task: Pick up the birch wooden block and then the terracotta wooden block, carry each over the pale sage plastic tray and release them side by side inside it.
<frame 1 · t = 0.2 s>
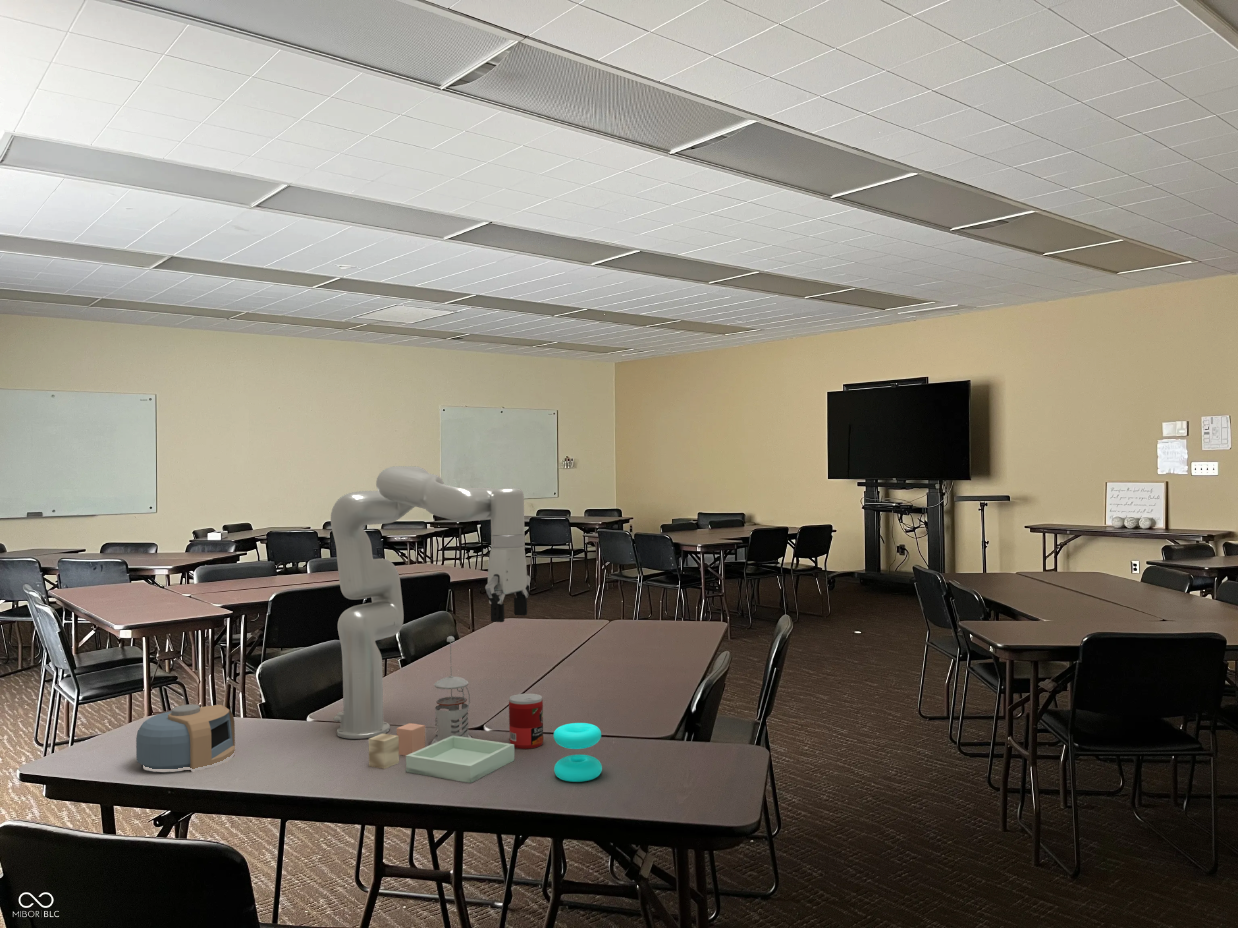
hand: (509, 618, 199), 31 cm above the table, tool pointing down, fingers open, 9 cm apart
tray: (461, 765, 192), on the table
alarm clock: (186, 761, 200), on the table
donuts: (578, 776, 184), on the table
french press: (454, 740, 212), on the table
canned food: (526, 745, 207), on the table
birch block: (384, 764, 194), on the table
terracotta block: (411, 752, 202), on the table
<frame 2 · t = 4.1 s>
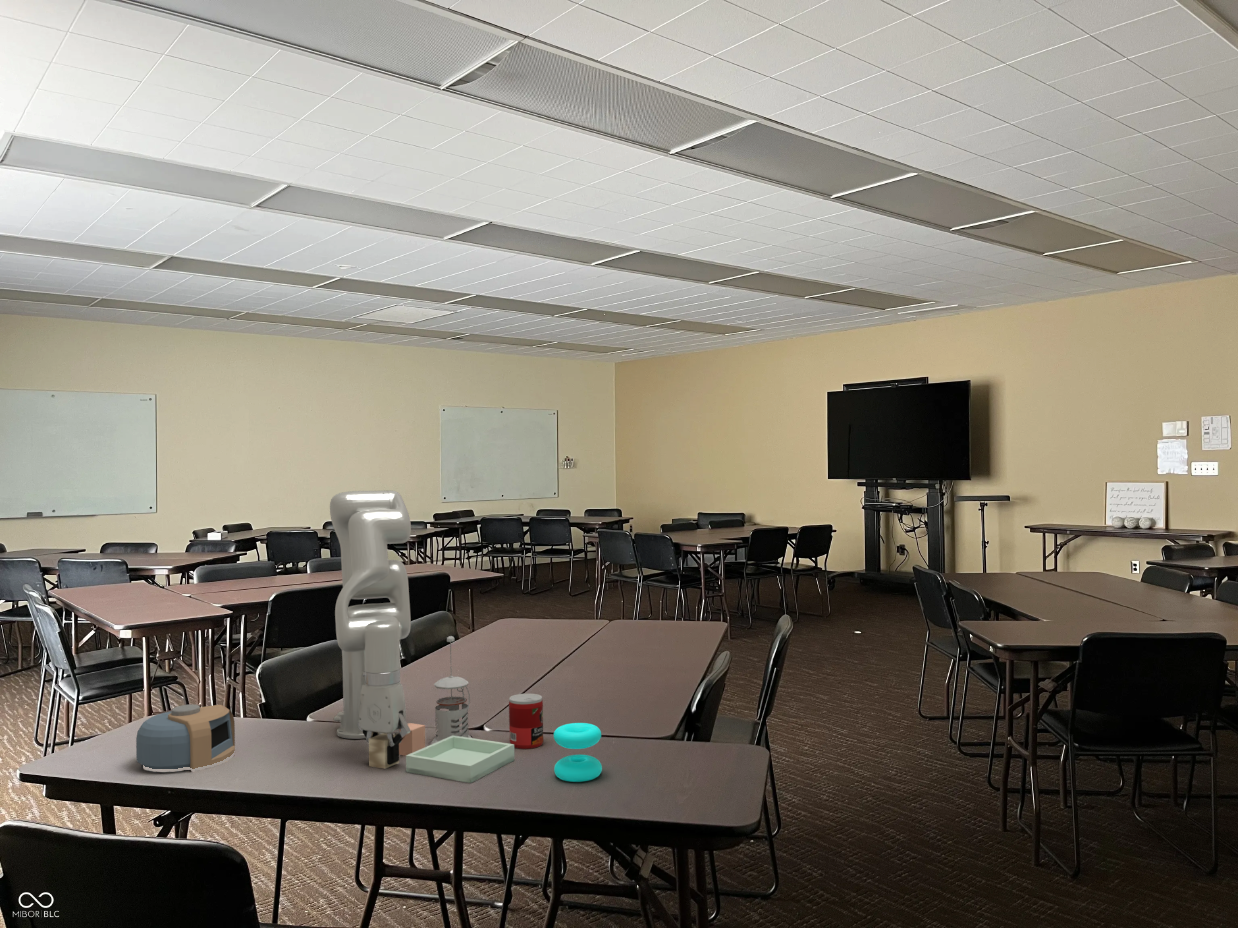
hand: (384, 760, 194), 1 cm above the table, tool pointing down, fingers closed on birch block, 4 cm apart
birch block: (384, 764, 194), on the table, touching gripper
everything else where it was.
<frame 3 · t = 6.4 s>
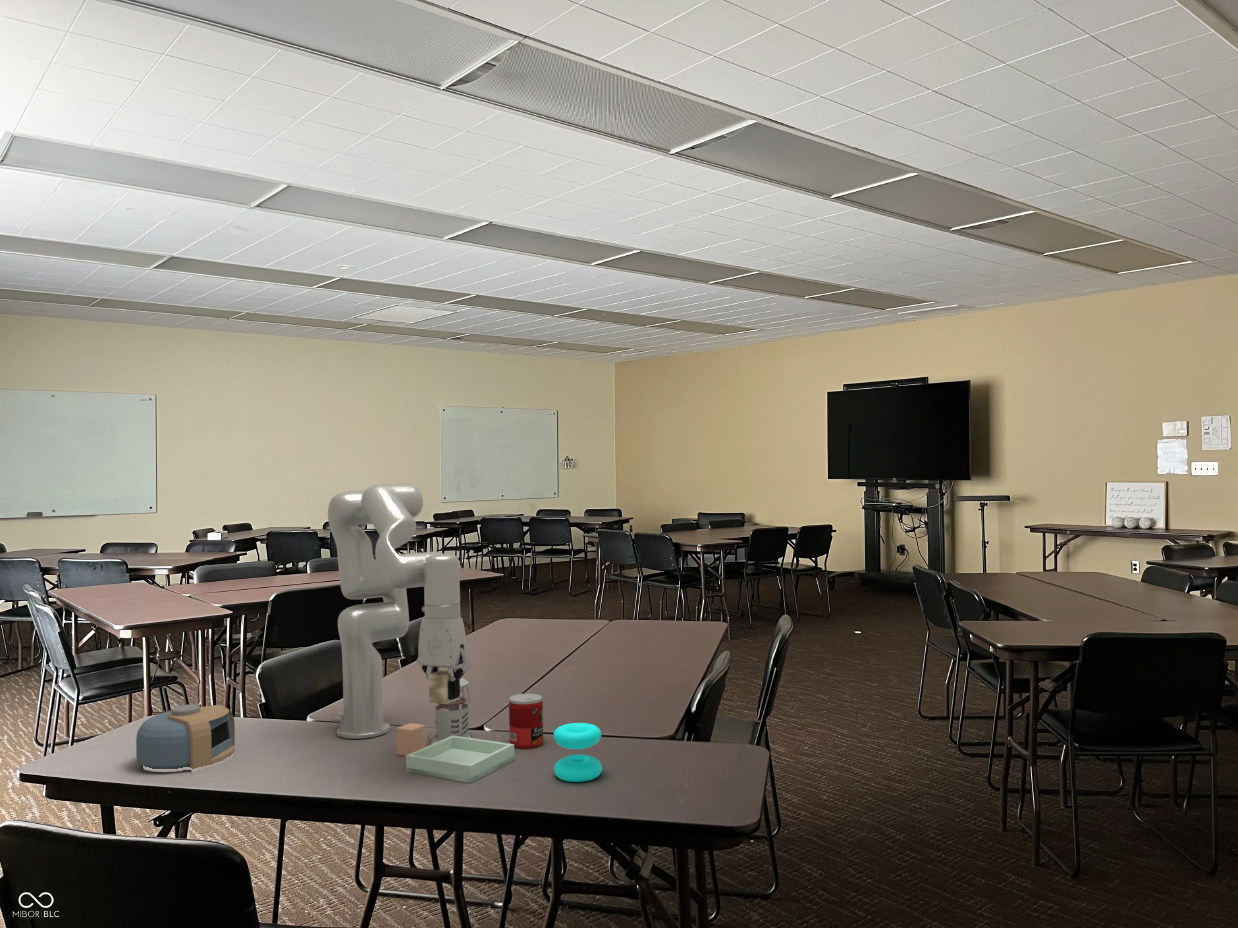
hand: (444, 696, 189), 16 cm above the table, tool pointing down, fingers closed on birch block, 4 cm apart
birch block: (444, 700, 189), point 15 cm above the table, touching gripper
everything else where it was.
when the fingers open (4 cm above the table, at t = 9.1 s): birch block drops 2 cm, resting on tray.
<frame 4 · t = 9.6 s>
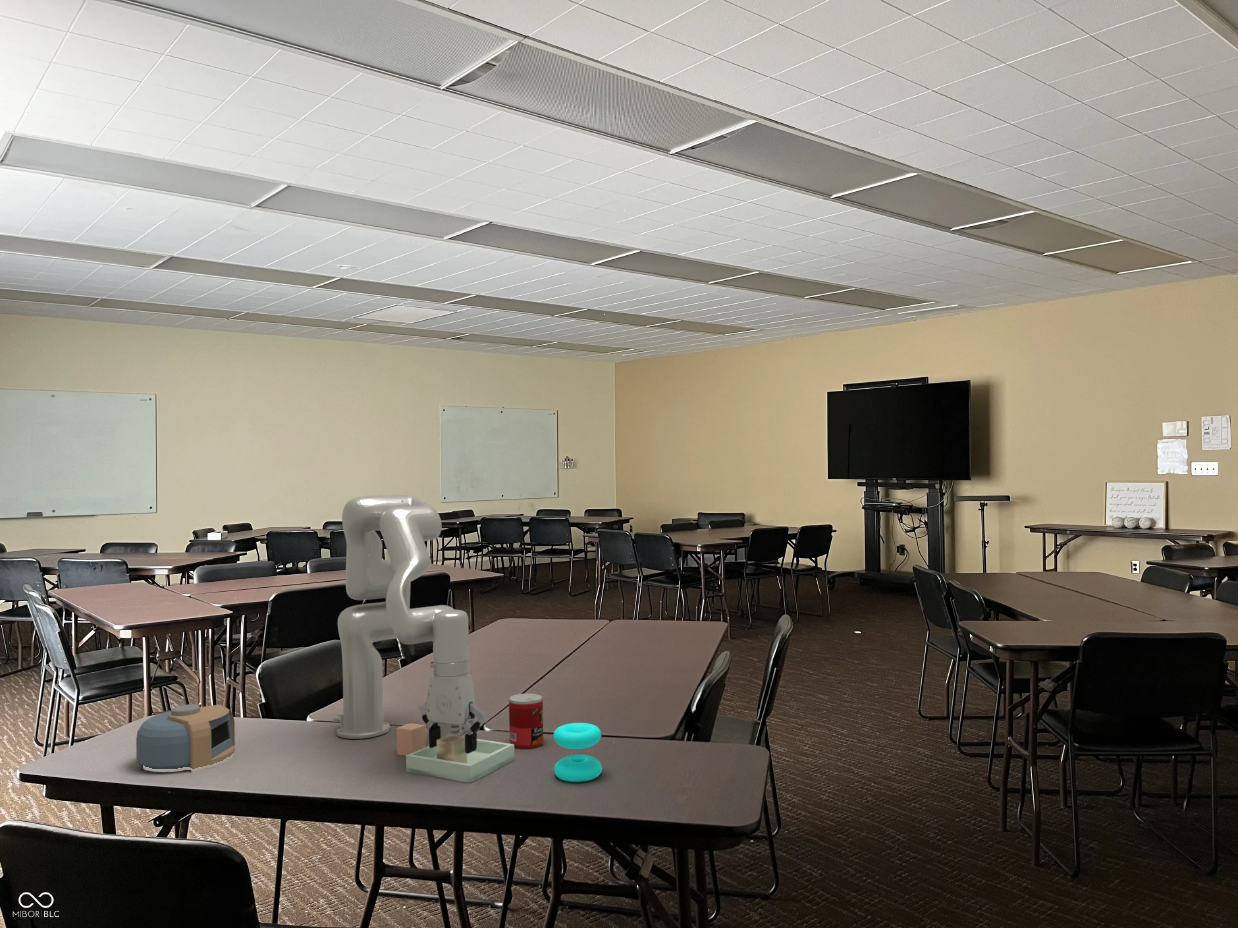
hand: (452, 748, 189), 5 cm above the table, tool pointing down, fingers open, 9 cm apart
birch block: (452, 766, 189), point 1 cm above the table, touching tray
everything else where it was.
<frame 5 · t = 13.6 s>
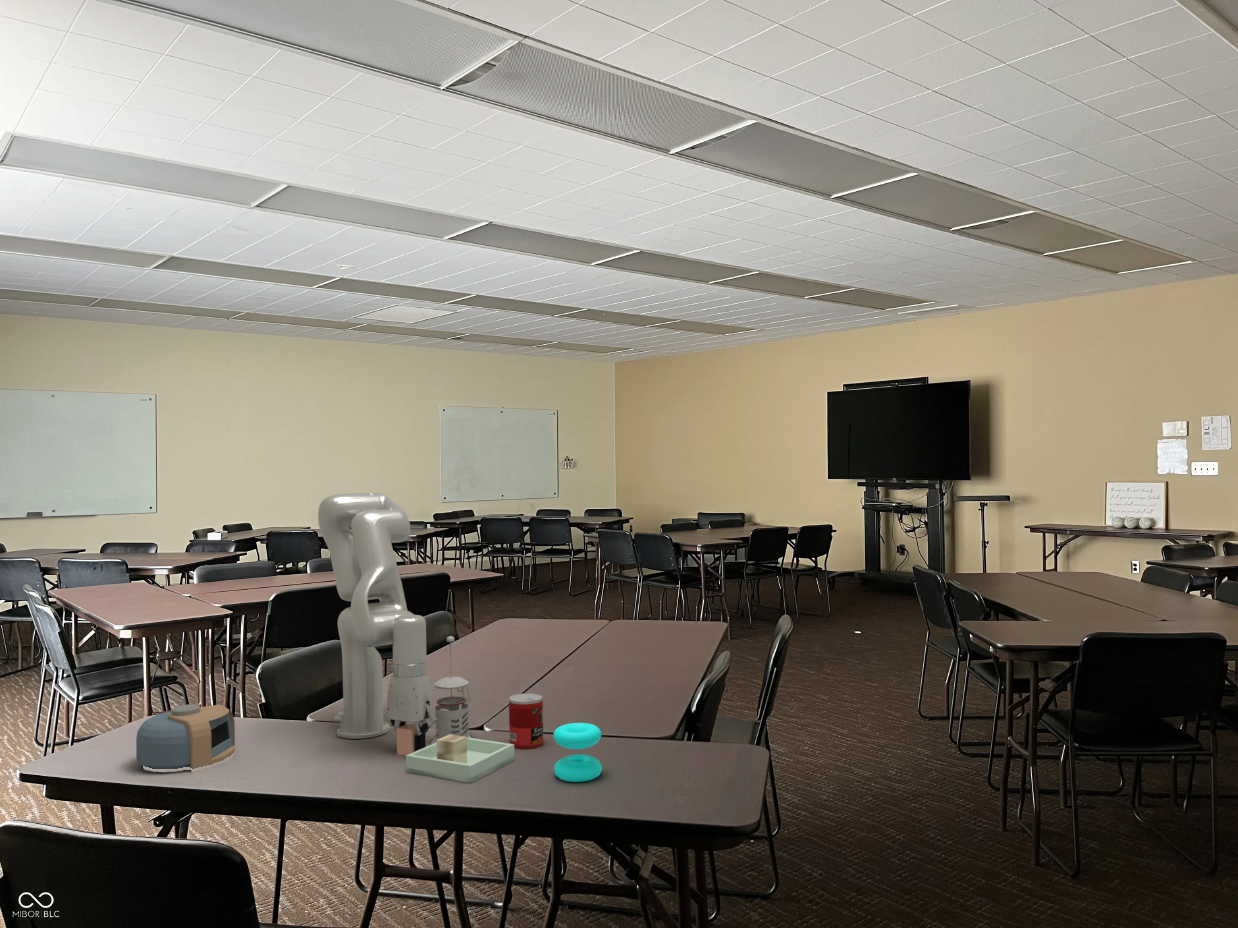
hand: (411, 748, 202), 1 cm above the table, tool pointing down, fingers closed on terracotta block, 4 cm apart
terracotta block: (411, 752, 202), on the table, touching gripper
everything else where it was.
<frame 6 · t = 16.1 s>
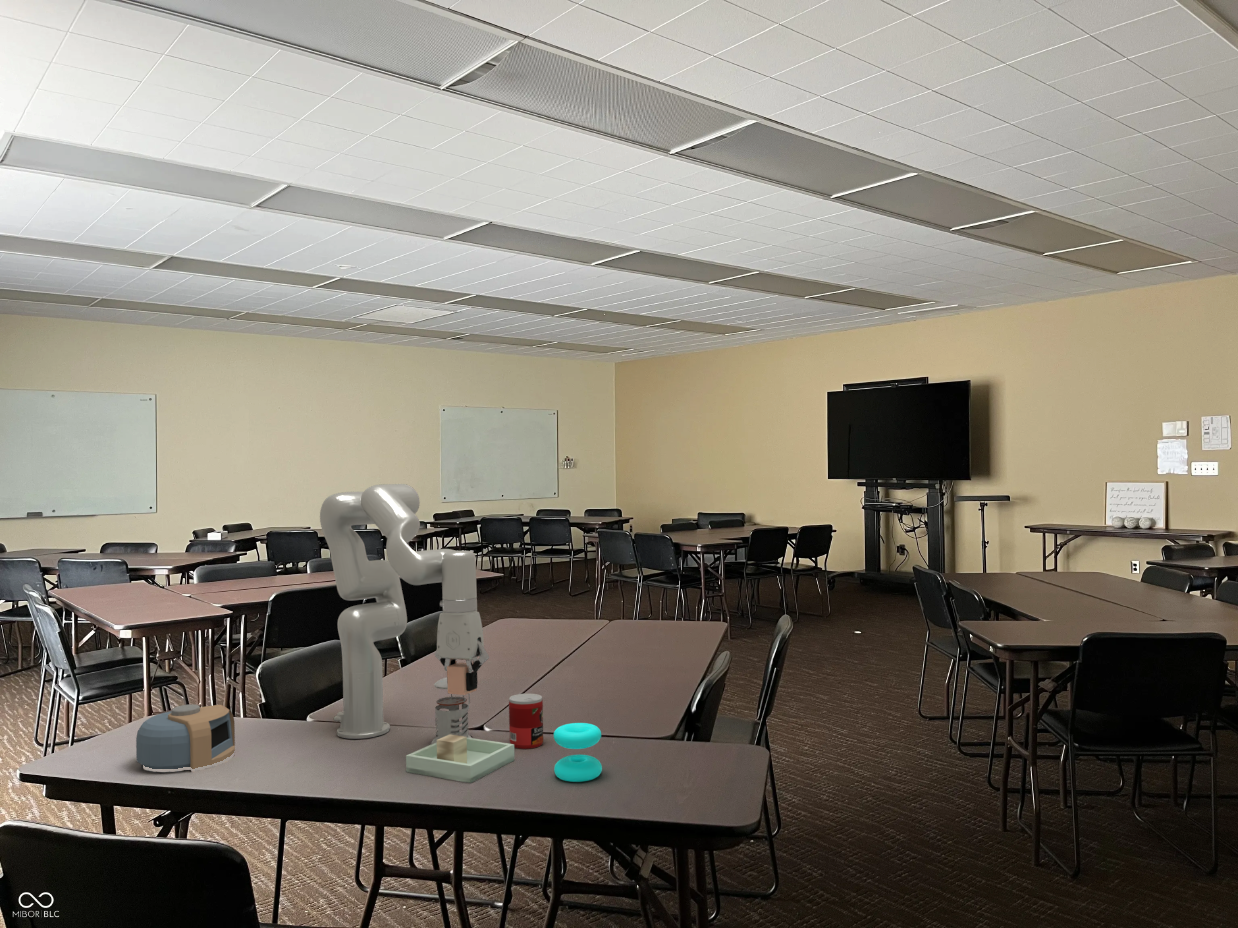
hand: (462, 687, 196), 16 cm above the table, tool pointing down, fingers closed on terracotta block, 4 cm apart
terracotta block: (462, 691, 196), point 15 cm above the table, touching gripper
everything else where it was.
when the fingers open (4 cm above the table, at t = 18.9 s): terracotta block drops 2 cm, resting on tray.
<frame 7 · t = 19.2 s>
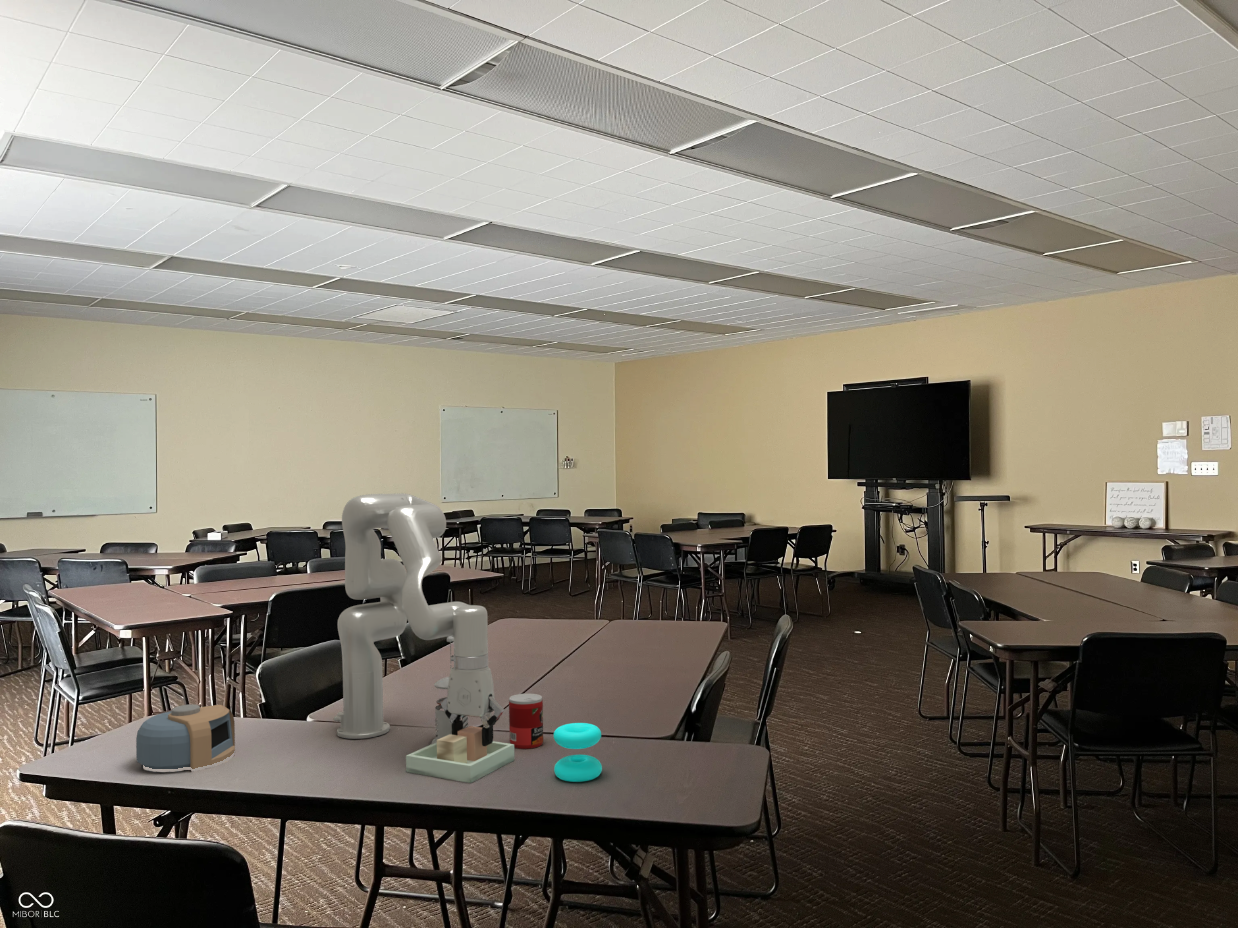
hand: (472, 741, 195), 4 cm above the table, tool pointing down, fingers open, 7 cm apart
terracotta block: (472, 756, 195), point 1 cm above the table, touching tray
everything else where it was.
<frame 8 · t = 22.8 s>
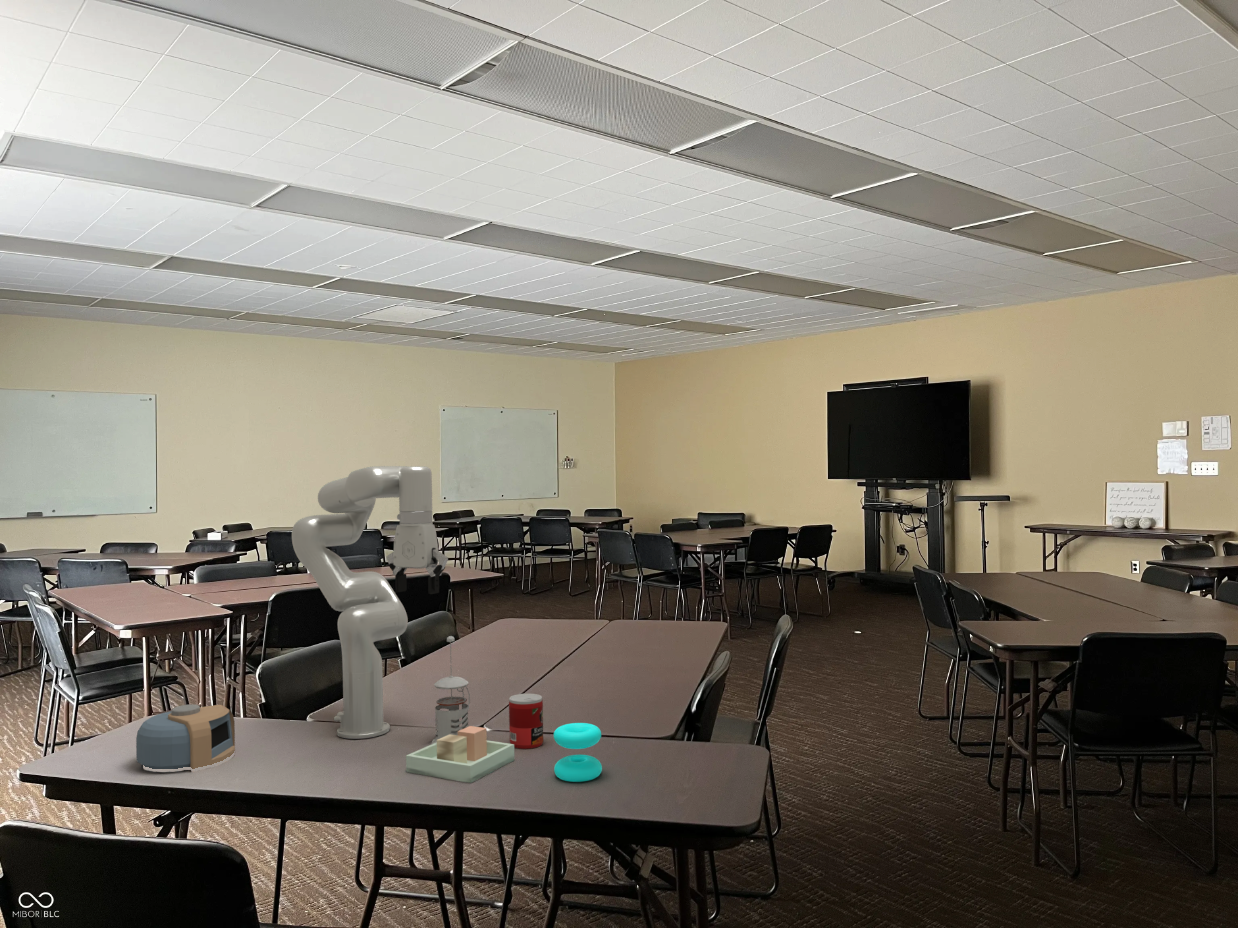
hand: (417, 592, 206), 36 cm above the table, tool pointing down, fingers open, 9 cm apart
nothing on the table moved.
at the end: birch block inside the target area on the tray (3.6 cm from its centre), point 1.0 cm above the tray's base; terracotta block inside the target area on the tray (3.5 cm from its centre), point 1.0 cm above the tray's base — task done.
